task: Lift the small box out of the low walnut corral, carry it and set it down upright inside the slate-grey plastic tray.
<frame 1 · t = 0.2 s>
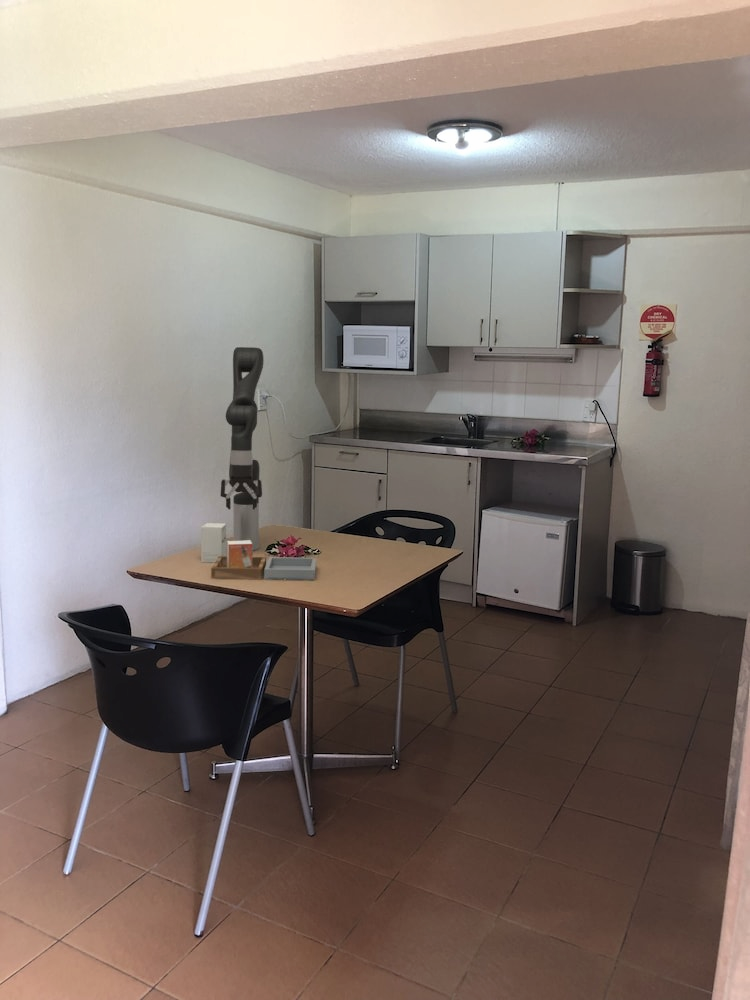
hand: (241, 509, 290), 18 cm above the table, tool pointing down, fingers open, 8 cm apart
small box: (239, 573, 274), resting in corral
tray: (291, 573, 274), on the table
corral: (239, 572, 274), on the table
supplement box: (214, 560, 289), on the table
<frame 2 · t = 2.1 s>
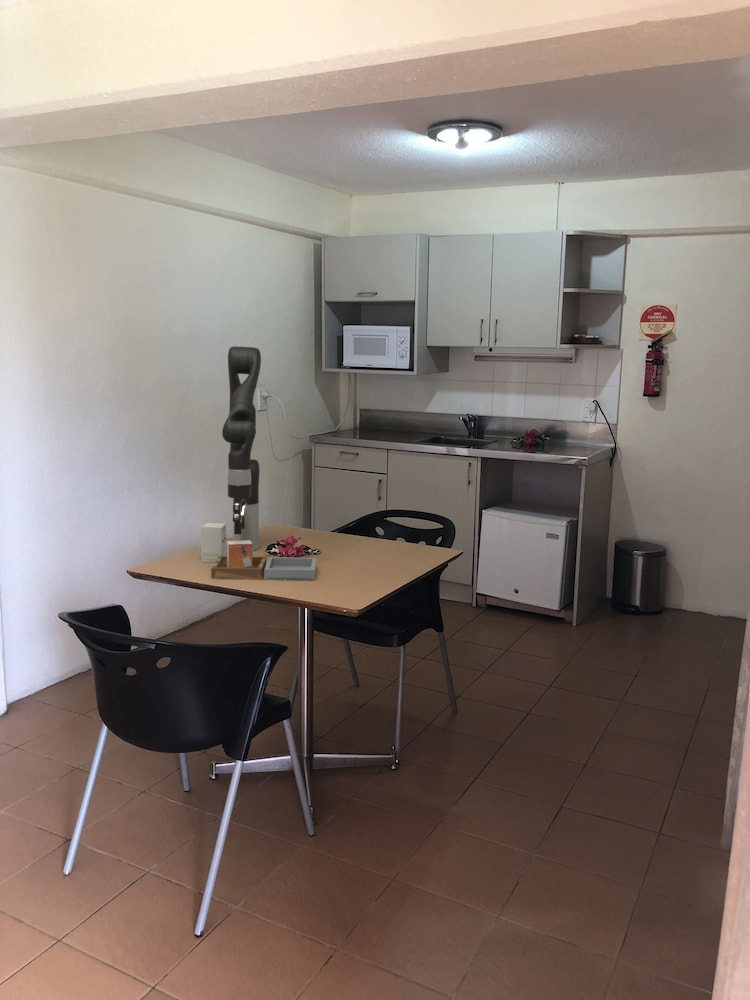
hand: (239, 531, 271), 14 cm above the table, tool pointing down, fingers open, 8 cm apart
nothing on the table moved.
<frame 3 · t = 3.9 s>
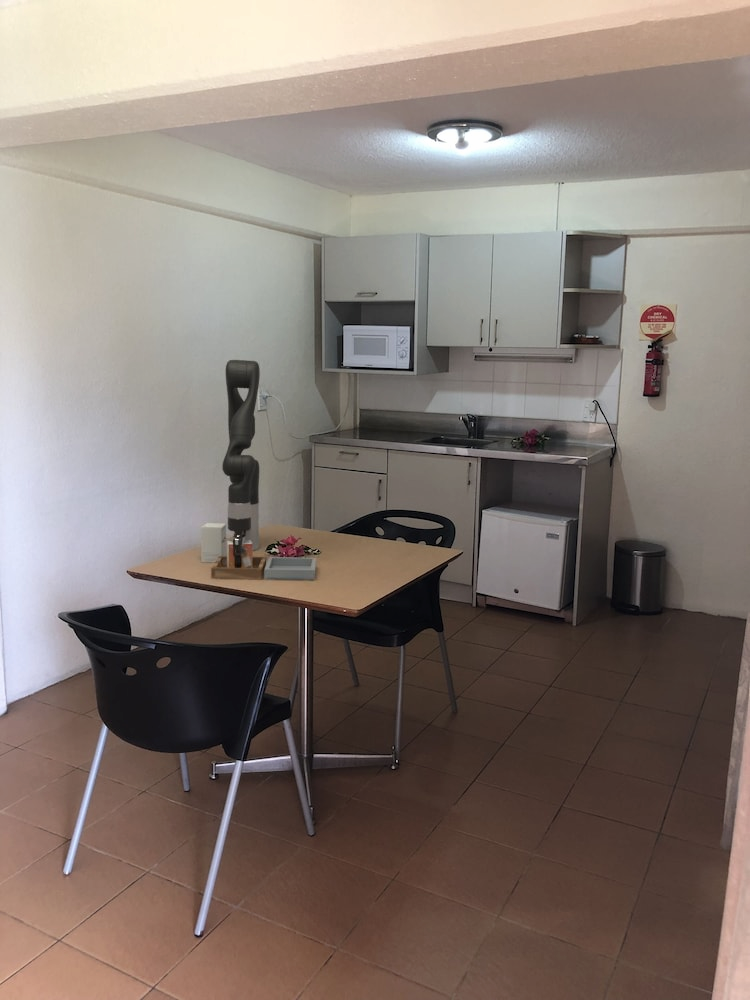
hand: (239, 564, 273), 3 cm above the table, tool pointing down, fingers closed on small box, 6 cm apart
small box: (239, 573, 274), resting in corral, touching gripper
everything else where it was.
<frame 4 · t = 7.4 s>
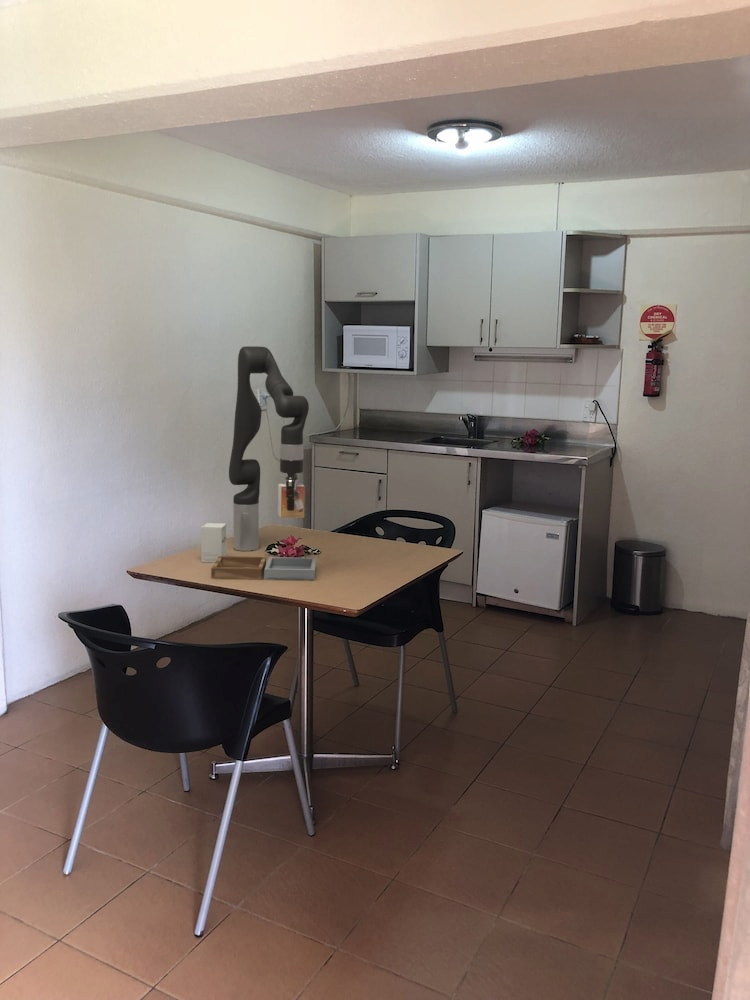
hand: (291, 508, 271), 22 cm above the table, tool pointing down, fingers closed on small box, 6 cm apart
small box: (291, 516, 271), point 19 cm above the table, touching gripper
everything else where it was.
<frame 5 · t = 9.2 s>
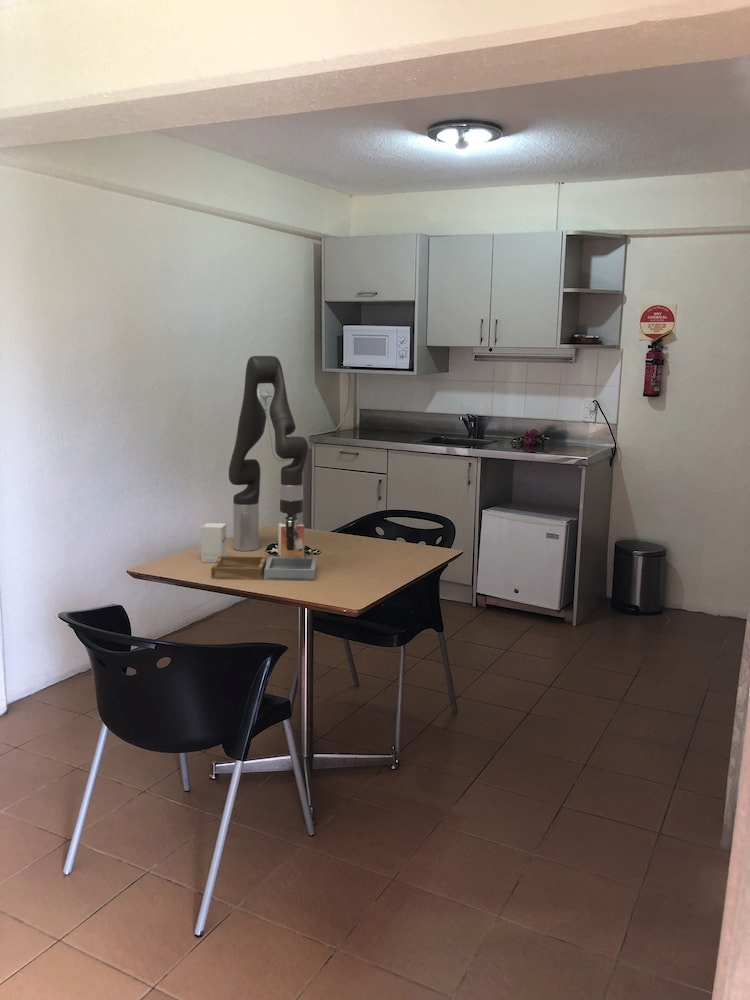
hand: (291, 547, 273), 9 cm above the table, tool pointing down, fingers closed on small box, 6 cm apart
small box: (291, 556, 273), point 6 cm above the table, touching gripper
everything else where it was.
when the fingers open (6 cm above the table, at t = 10.8 s): small box drops 2 cm, resting on tray.
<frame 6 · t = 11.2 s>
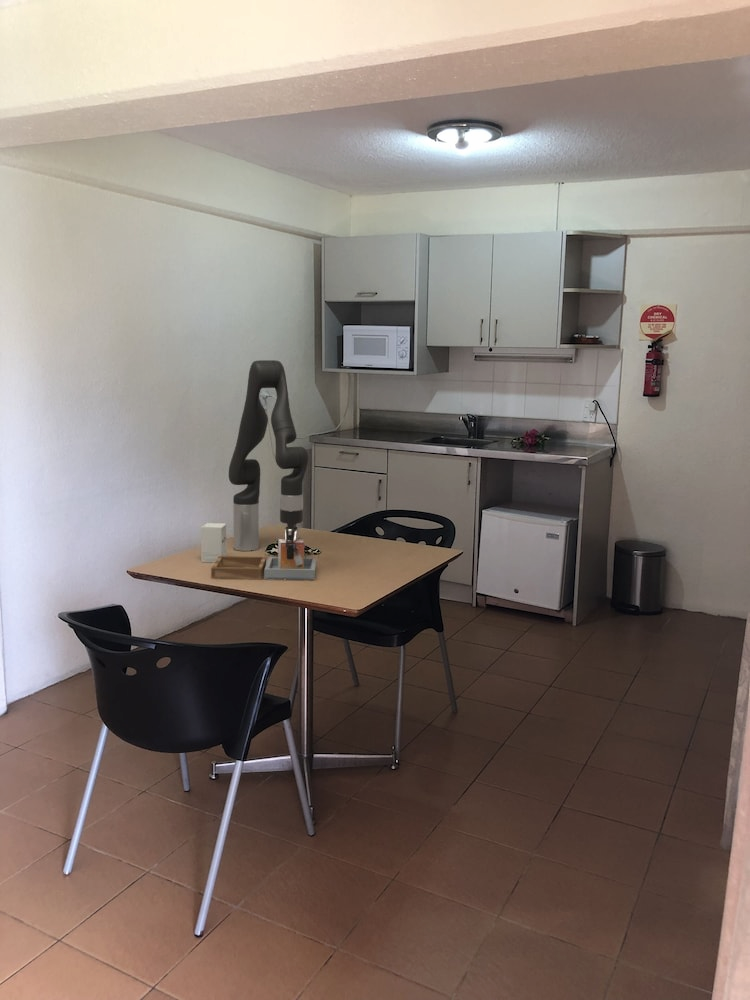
hand: (291, 555, 273), 6 cm above the table, tool pointing down, fingers open, 8 cm apart
small box: (290, 571, 274), point 1 cm above the table, touching tray
everything else where it was.
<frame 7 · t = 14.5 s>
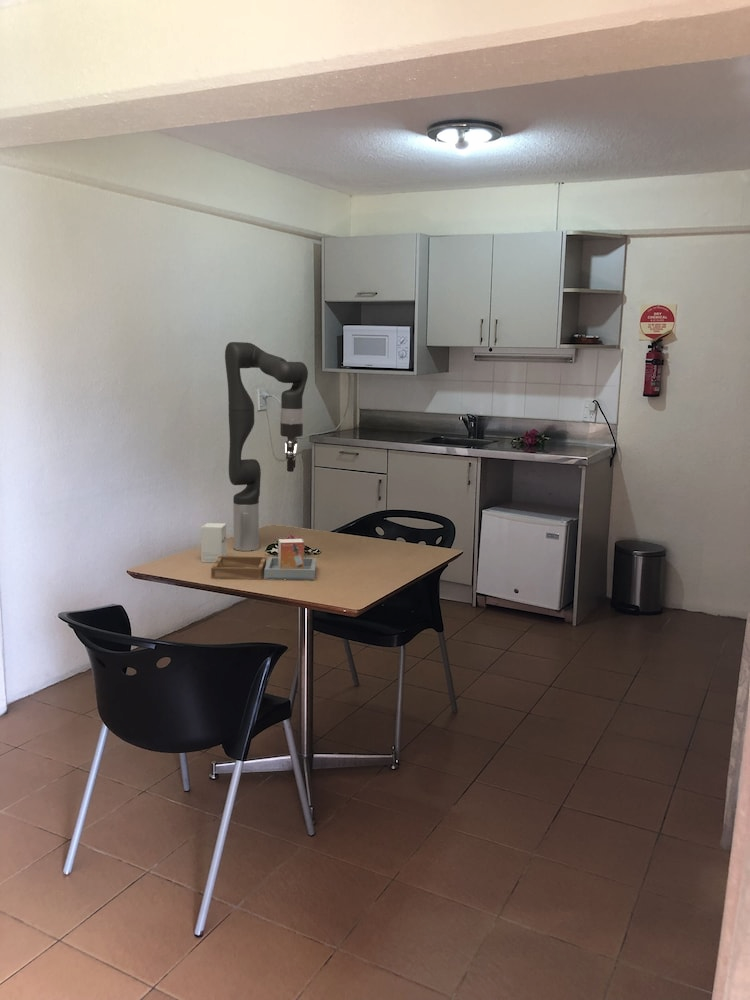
hand: (291, 469, 280), 33 cm above the table, tool pointing down, fingers open, 8 cm apart
nothing on the table moved.
at the end: small box inside the target area on the tray (0.1 cm from its centre), point 0.6 cm above the tray's base; small box tilted 0°; the gripper is holding nothing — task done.
